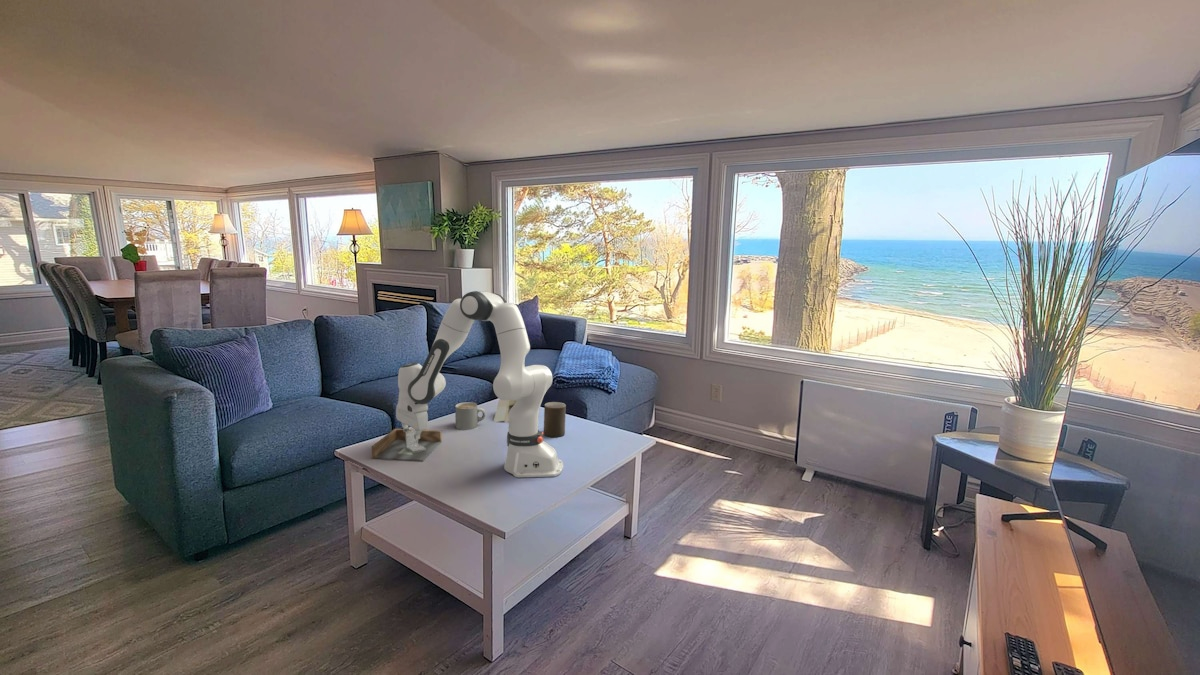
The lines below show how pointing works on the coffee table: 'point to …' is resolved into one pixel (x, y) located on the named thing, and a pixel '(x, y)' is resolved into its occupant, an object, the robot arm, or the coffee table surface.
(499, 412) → the wall
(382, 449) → the tray
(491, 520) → the coffee table surface
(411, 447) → the aluminium bracket
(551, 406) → the pillar candle
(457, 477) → the coffee table surface
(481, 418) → the coffee mug
